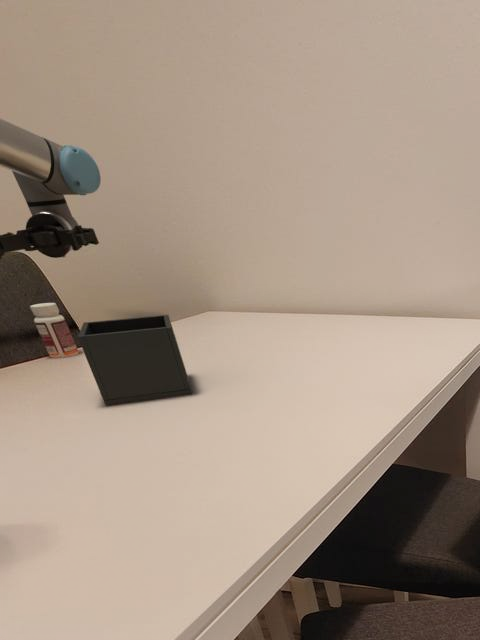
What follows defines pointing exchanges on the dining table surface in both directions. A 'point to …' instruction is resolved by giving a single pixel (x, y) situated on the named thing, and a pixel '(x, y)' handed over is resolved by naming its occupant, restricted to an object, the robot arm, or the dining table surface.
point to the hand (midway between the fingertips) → (31, 246)
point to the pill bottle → (54, 330)
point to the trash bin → (134, 359)
